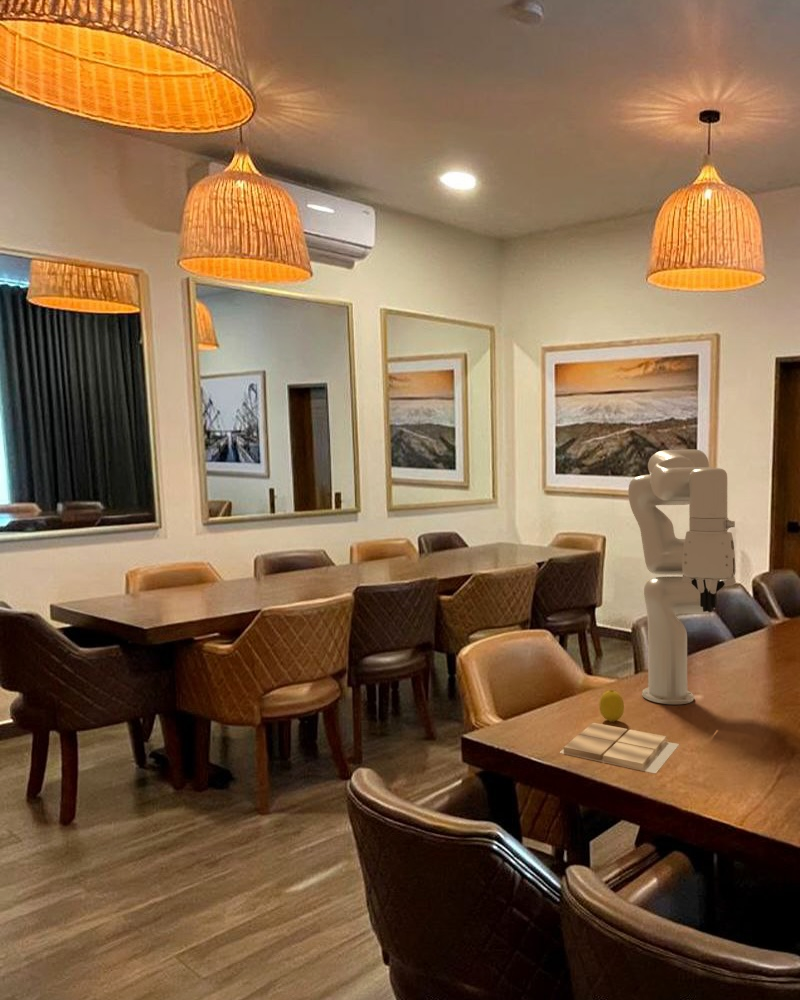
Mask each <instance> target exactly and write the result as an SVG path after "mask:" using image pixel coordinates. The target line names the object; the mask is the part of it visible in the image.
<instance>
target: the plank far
mask: <svg viewBox="0 0 800 1000" xmlns="http://www.w3.org/2000/svg"><path fill="white" fill-rule="evenodd" d="M617 742H618V743H623V744H628V745H634V746H639V747H644V748H649V749H654V750H655V755H656V753H657V752H658V751H659V750H660V749H661V748H662V746H663V745H664V744H665V743H666V742H668V741H667V735H662V734H655V733H651V732H645V731H641V730H640V731H639V730H635V729H628V732H627V733H626V734H625V735H623V736H622V737H621V738H620V739H619V740H618V741H617Z"/></svg>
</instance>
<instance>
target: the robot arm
mask: <svg viewBox="0 0 800 1000" xmlns="http://www.w3.org/2000/svg"><path fill="white" fill-rule="evenodd" d="M647 469H648V472H649V474H642V475H639V476H635V477H634V478H632V479H631V480H630V482H629V485H628V490H627V491H628V492H627V493H628V502H629V506H630V509H631V512H632V514H633V517H634V519H635V520H636V523H637V524H638V527H639V530H640V536H641V543H642V550H643V551H642V552H643V555H644V556H643V557H644V562H645V566H646V568H647V571H648V572H649V573H650V574H654V575H664V576H657V577H653V578H651V579H648V581H646V583H645V585H644V588H643V595H644V597H643V598H644V602H645V603H644V604H645V608H646V609H645V610H646V616H647V649H648V651H647V657H648V658H647V659H648V660H647V661H648V662H647V666H648V667H647V669H648V671H647V672H648V673H647V675H648V676H647V678H648V681H647V682H648V683H647V684H648V686H647V687H646V688H644V689H642V691H641V692H642V693H641V695H642V697H643V698H644V699H645V700H648V701H650V702H653V703H656V704H657V703H658V704H662V705H685V704H690V703H692V702H693V701H694V698H695V697H694V696H695V695H694V694H693V693H692V692H691V691H689V690H688V633H687V629H686V627H685V625H684V624H683V623H682V622H681V620H680V619H678V616H677V615H682V614H685V615H686V614H691V615H693V614H696V615H698V614H701V615H702V614H709V613H712V612H714V610H715V609H717V606H718V605H717V603H718V602H717V599H718V598H717V595H718V594H717V593H718V592H719V591H720V590H721V589H722V588H724V587H729V586H734V585H735V584H737V582H736V578H735V575H736V570H737V569H736V567H737V566H736V552H735V551H736V550H735V543H734V542H735V541H734V538H733V533H732V532H730V531H728V530H729V529H731V528H736V523H735V522H736V521H735V520H730V519H729V518H728V473H727V471H726V470H725V469H723V468H719V467H710V463H709V459H708V457H707V454H705V452H703V451H702V450H700V449H692V448H691V449H663V450H659V451H657V452H655V453H654V454H652V455H651V457H650V458H649V460H648V462H647ZM687 505H689V510H688V511H689V521H688V522H689V523H688V525H689V530H688V531H686V533H685V537H684V538H677V537H676V535H675V530H674V524H673V522H672V520H671V519H670V518H669V517H668V516H667V515H666V514H665V512H663V511H662V510H660V509H659V508H658V507H657V506H687ZM667 575H668V576H667ZM674 575H677V576H674ZM678 575H679V576H678ZM681 575H682V576H681Z"/></svg>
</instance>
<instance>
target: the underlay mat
mask: <svg viewBox="0 0 800 1000" xmlns="http://www.w3.org/2000/svg"><path fill="white" fill-rule="evenodd" d="M679 746H680V744H679V743H676V742H675V743H674V742H669V741H667V742H666V743H665V744H664V745H663V746H662V748H661V749H660V750H659V751H658V752H657V753H656V755H655V756H654V757H653V758H652V759H651V760H650V762H649V763H648V764H647V765H646V766H645V767H644V769H643V770H642V769H638V768H633V767H628V766H624V765H619V764H614V763H610V762H605V761H603V759H602V760H601V761H600V760H596V759H591V758H587V757H582V756H577V755H573V754H568V753H564V748H562V749H561V750H560V752H559V754H561V755H562V754H563V755H567V756H573V757H578V758H581V759H586V760H591V761H596V762H601V763H604V764H609V765H613V766H618V767H623V768H628V769H632V770H636V771H642V772H644V773H645V772H647V773H650V774H654V775H655V774H657V773H658V772H659V770H660V769H662V767H663V765H664V764H665V763H666V762H667V760H668V759H669V758H670V757H671V755H673V753H674V752H675V750H676V749H677V748H678V747H679Z"/></svg>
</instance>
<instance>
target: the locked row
mask: <svg viewBox="0 0 800 1000" xmlns="http://www.w3.org/2000/svg"><path fill="white" fill-rule="evenodd" d="M628 731H629V729H628V728H624V727H618V726H613V725H609V724H603V723H598V722H592V723H591V724H589V725H588V726H587V727H585V729H583V730H582V731H581V732H579V733H578V734H577V735H576V736H574V737H573V739H571V740H570V741H569V742H567V743H566V744H565V745H564V746H563V749H564V753H568V754H573V755H577V756H582V757H587V758H591V759H596V760H600V761H601V760H602V759H603V755H604V754H605V753H606V752H607V751H608V750H609V749H610V748H611V747H612V746H613V745H614V744H615V743H616V742H617V741H618V740H619V739H620V738H621V737H622V736H623V735H625V734H626V733H627V732H628Z"/></svg>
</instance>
